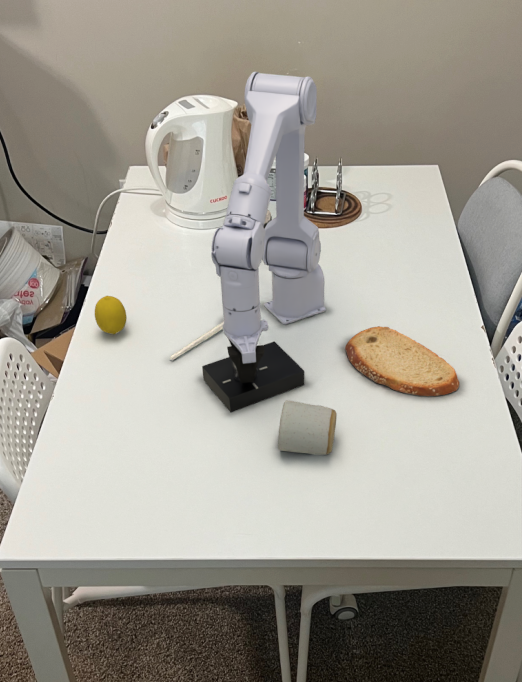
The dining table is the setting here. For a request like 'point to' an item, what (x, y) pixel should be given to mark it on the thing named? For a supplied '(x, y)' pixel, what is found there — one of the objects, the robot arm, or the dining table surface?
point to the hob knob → (235, 373)
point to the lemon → (110, 315)
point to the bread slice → (400, 363)
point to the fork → (198, 341)
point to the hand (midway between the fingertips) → (245, 372)
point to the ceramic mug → (306, 428)
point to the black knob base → (271, 380)
